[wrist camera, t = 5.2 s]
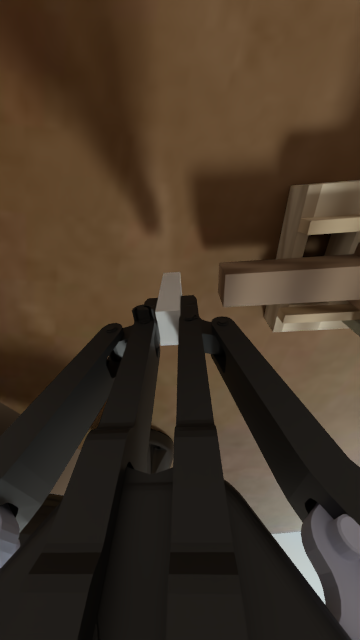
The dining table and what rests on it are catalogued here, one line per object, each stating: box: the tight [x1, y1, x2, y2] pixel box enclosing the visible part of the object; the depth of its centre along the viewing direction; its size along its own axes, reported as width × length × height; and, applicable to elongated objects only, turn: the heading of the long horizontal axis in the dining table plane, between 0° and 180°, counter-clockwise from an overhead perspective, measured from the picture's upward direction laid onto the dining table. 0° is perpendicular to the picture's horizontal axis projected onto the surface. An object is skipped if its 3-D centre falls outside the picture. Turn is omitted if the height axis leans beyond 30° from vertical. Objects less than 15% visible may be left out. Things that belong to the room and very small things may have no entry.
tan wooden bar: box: [218, 242, 360, 310], centre depth 17 cm, size 18×5×5 cm, turn 94°
